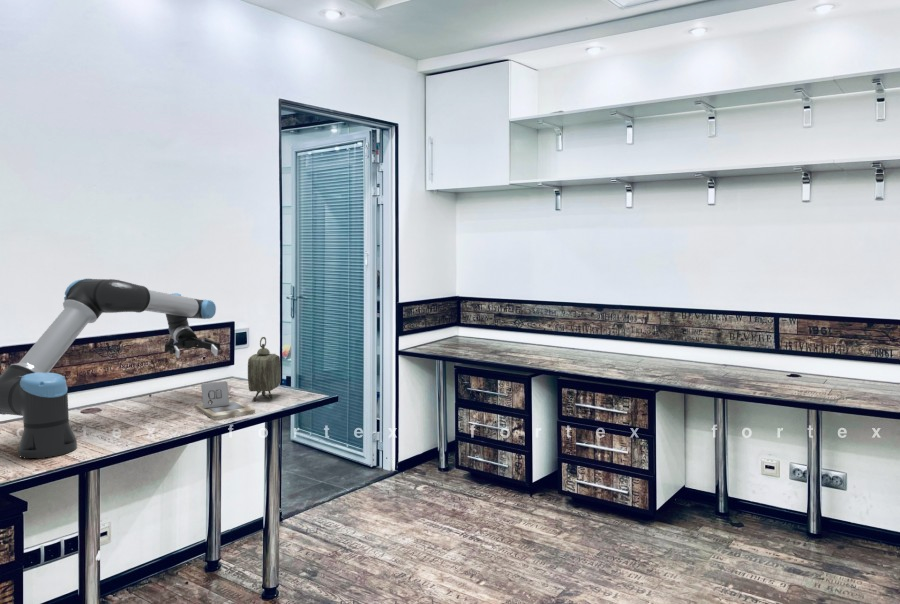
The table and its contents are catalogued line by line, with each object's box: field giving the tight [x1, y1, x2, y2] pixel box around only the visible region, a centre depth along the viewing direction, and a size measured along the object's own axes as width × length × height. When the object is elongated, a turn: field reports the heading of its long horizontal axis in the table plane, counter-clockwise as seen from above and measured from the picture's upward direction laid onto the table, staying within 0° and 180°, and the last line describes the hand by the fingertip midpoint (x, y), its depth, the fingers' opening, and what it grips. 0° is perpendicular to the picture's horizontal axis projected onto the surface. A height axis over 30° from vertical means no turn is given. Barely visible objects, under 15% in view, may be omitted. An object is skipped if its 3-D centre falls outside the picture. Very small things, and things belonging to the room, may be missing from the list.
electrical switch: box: [200, 380, 230, 408], centre depth 244 cm, size 9×5×9 cm, turn 117°
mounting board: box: [194, 398, 256, 421], centre depth 243 cm, size 15×22×2 cm
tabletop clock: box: [247, 336, 282, 402], centre depth 262 cm, size 14×9×25 cm, turn 178°
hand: (197, 353), depth 242 cm, fingers open, 13 cm apart
